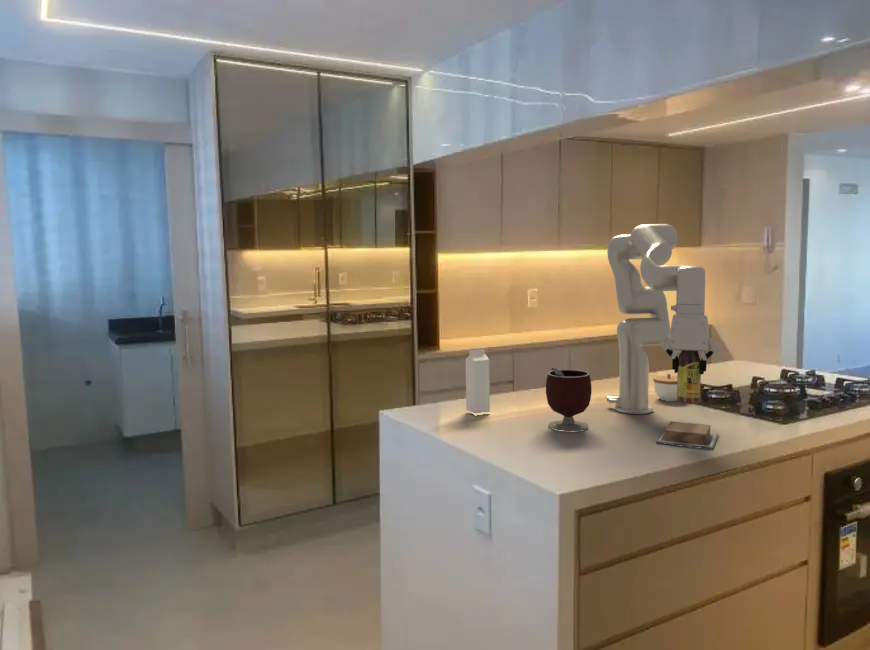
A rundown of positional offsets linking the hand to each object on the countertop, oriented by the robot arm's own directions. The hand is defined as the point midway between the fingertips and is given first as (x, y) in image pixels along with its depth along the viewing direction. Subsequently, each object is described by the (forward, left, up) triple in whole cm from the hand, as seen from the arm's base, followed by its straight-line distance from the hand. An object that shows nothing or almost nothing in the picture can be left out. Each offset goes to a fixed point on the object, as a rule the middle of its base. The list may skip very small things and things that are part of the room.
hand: (689, 372), depth 193 cm
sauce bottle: (0, 0, -9) cm, 9 cm away
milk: (-69, +6, -20) cm, 72 cm away
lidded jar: (-14, +53, -20) cm, 58 cm away
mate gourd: (-36, 0, -20) cm, 41 cm away
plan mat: (0, 0, -20) cm, 20 cm away
